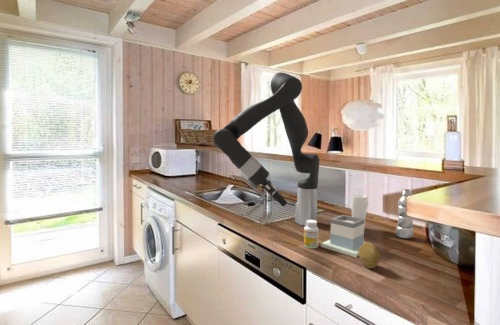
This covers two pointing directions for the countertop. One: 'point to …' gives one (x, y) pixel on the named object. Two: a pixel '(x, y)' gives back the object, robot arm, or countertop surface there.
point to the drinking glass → (359, 206)
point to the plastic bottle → (404, 217)
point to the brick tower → (346, 235)
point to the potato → (369, 255)
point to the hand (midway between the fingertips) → (283, 202)
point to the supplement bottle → (311, 234)
